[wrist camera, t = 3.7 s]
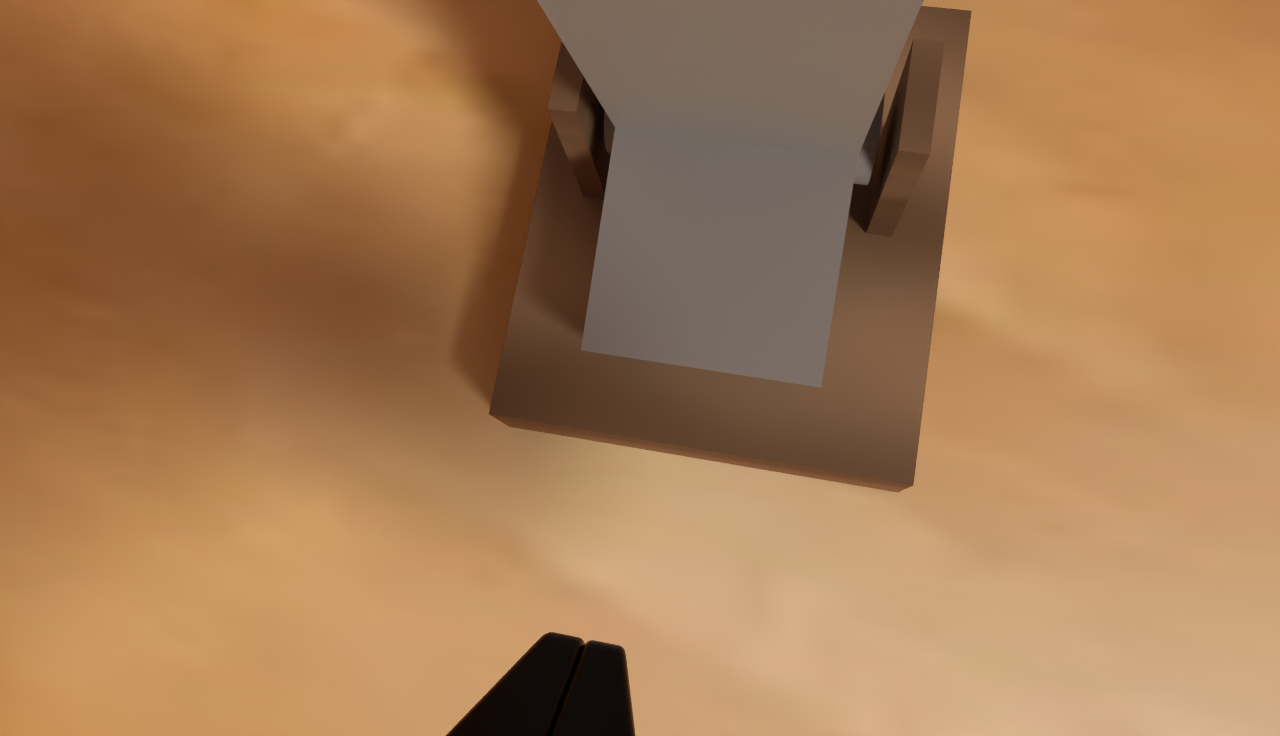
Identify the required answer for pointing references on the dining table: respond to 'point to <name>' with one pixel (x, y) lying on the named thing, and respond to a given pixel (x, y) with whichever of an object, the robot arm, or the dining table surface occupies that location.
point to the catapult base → (735, 404)
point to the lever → (729, 171)
